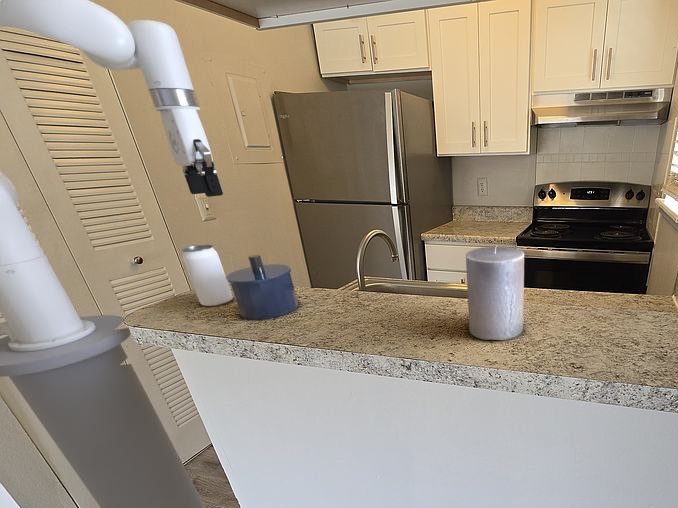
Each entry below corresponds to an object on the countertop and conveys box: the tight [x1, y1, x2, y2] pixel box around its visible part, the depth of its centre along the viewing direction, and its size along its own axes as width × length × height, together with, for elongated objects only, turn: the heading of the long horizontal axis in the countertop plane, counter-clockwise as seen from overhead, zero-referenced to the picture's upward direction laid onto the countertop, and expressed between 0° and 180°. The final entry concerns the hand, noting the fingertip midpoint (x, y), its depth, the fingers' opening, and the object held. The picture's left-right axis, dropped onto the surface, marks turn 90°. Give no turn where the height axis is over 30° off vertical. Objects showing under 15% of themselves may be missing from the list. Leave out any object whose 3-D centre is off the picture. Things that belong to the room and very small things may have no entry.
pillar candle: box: [465, 244, 525, 341], centre depth 69 cm, size 10×10×15 cm
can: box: [181, 244, 234, 307], centre depth 88 cm, size 6×6×12 cm
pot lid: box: [225, 254, 292, 284], centre depth 81 cm, size 12×12×4 cm
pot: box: [229, 272, 299, 321], centre depth 83 cm, size 11×11×8 cm
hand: (206, 194), depth 88 cm, fingers open, 9 cm apart
